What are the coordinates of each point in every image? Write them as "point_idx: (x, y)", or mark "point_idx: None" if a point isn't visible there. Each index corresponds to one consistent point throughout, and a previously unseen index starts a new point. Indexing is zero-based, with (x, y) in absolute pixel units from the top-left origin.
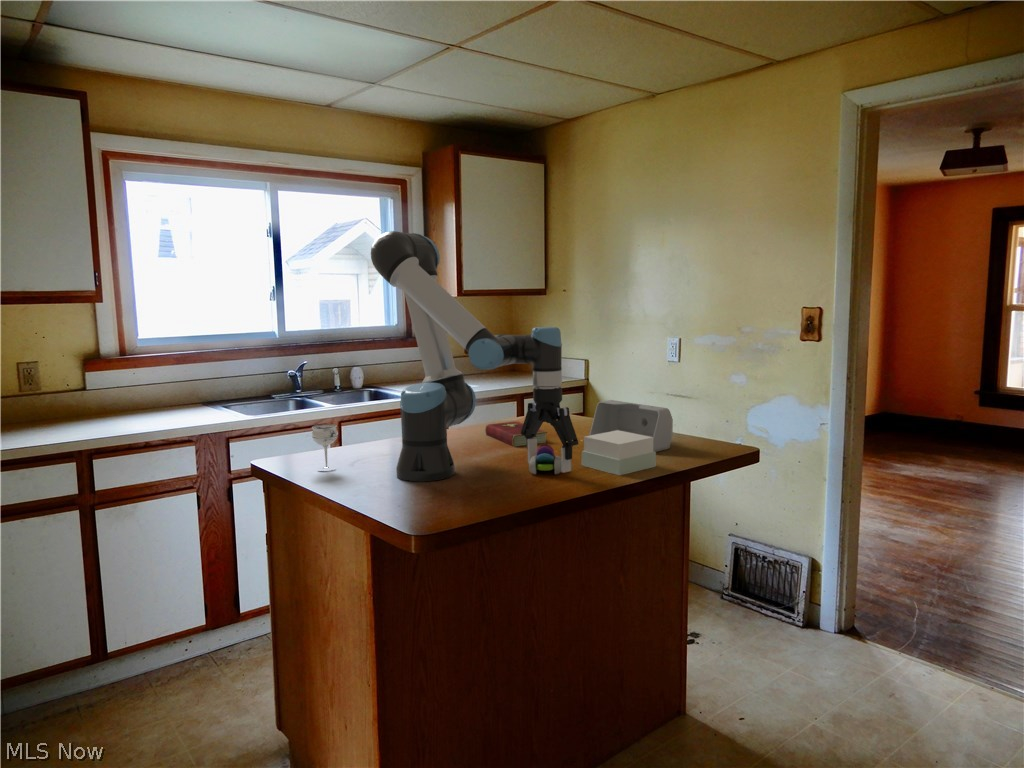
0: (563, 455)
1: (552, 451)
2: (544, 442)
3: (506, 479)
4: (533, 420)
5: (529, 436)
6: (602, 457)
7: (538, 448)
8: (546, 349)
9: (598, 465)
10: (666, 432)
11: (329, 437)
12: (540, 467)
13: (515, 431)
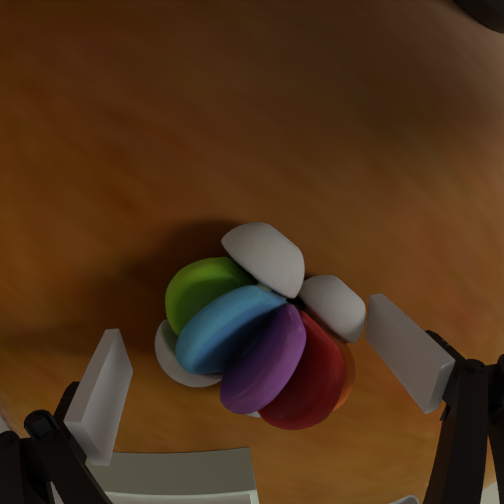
0: (79, 387)
1: (222, 401)
2: None
3: (250, 65)
4: (500, 477)
5: (456, 383)
6: (140, 490)
7: (336, 366)
8: None
9: (162, 465)
10: None
11: None
12: (194, 264)
13: None
